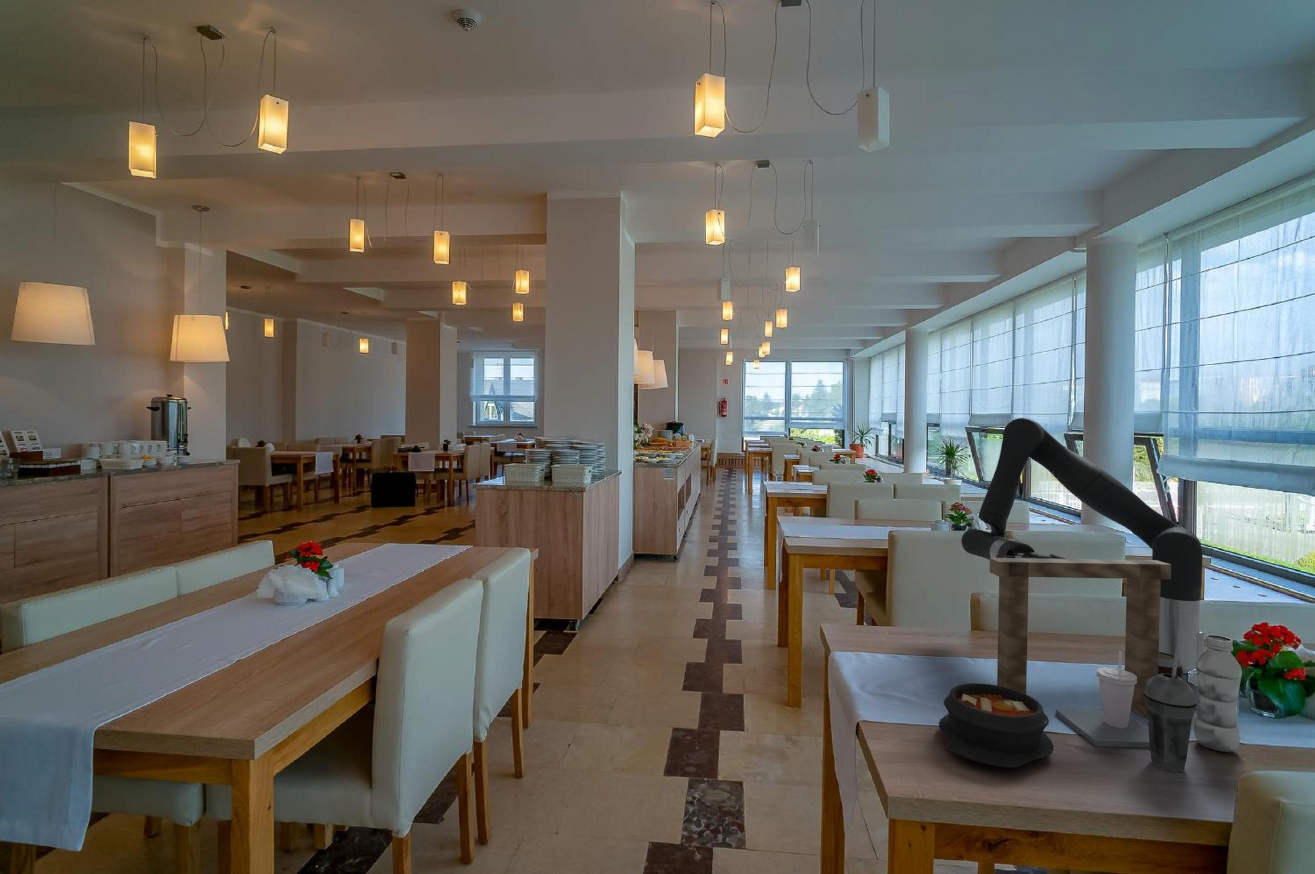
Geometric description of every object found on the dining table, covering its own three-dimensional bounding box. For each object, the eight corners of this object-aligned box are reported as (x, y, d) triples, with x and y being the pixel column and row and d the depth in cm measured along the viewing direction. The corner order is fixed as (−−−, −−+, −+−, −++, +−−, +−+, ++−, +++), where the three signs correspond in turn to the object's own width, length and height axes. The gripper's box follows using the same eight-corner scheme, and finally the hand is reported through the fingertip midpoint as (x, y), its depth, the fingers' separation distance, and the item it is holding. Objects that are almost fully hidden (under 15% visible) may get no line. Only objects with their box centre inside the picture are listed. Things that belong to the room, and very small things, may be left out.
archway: (1143, 697, 141) (1147, 557, 140) (1178, 718, 131) (1182, 567, 130) (980, 693, 142) (983, 554, 142) (1002, 713, 132) (1005, 565, 132)
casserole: (1040, 792, 105) (1041, 740, 104) (919, 755, 116) (920, 707, 116) (1063, 734, 124) (1064, 690, 124) (958, 707, 136) (958, 666, 135)
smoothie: (1143, 733, 122) (1144, 658, 122) (1104, 729, 124) (1104, 655, 124) (1127, 718, 129) (1128, 646, 128) (1090, 714, 130) (1091, 644, 130)
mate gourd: (1169, 686, 147) (1170, 619, 147) (1192, 701, 139) (1194, 630, 139) (1132, 684, 148) (1133, 617, 148) (1153, 698, 140) (1154, 628, 140)
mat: (1122, 715, 132) (1122, 710, 132) (1169, 748, 119) (1170, 742, 119) (1055, 714, 132) (1055, 709, 132) (1095, 746, 119) (1095, 740, 119)
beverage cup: (1130, 755, 116) (1133, 642, 116) (1169, 753, 117) (1172, 641, 116) (1166, 777, 109) (1169, 657, 108) (1207, 775, 110) (1210, 656, 109)
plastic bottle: (1228, 742, 121) (1231, 634, 121) (1247, 760, 115) (1251, 645, 114) (1186, 736, 123) (1189, 630, 123) (1202, 753, 117) (1205, 641, 116)
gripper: (983, 540, 166) (1015, 552, 150) (1041, 540, 165) (1079, 552, 149) (983, 570, 166) (1015, 585, 150) (1041, 569, 165) (1080, 585, 149)
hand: (1047, 568), depth 149 cm, fingers open, 8 cm apart
